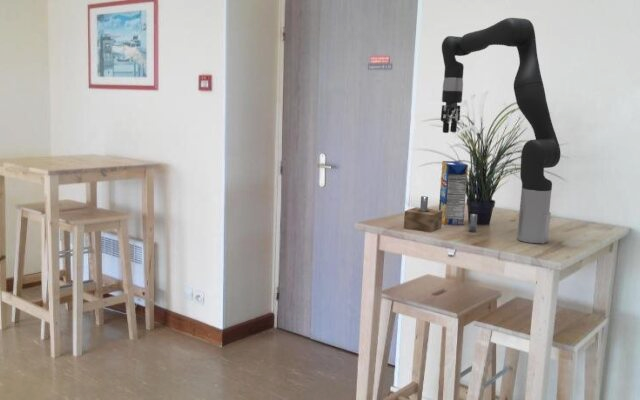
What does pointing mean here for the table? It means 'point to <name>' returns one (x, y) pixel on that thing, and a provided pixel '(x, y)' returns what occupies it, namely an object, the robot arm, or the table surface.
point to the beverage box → (453, 192)
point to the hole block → (423, 219)
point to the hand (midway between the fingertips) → (449, 132)
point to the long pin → (424, 204)
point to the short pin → (473, 223)
